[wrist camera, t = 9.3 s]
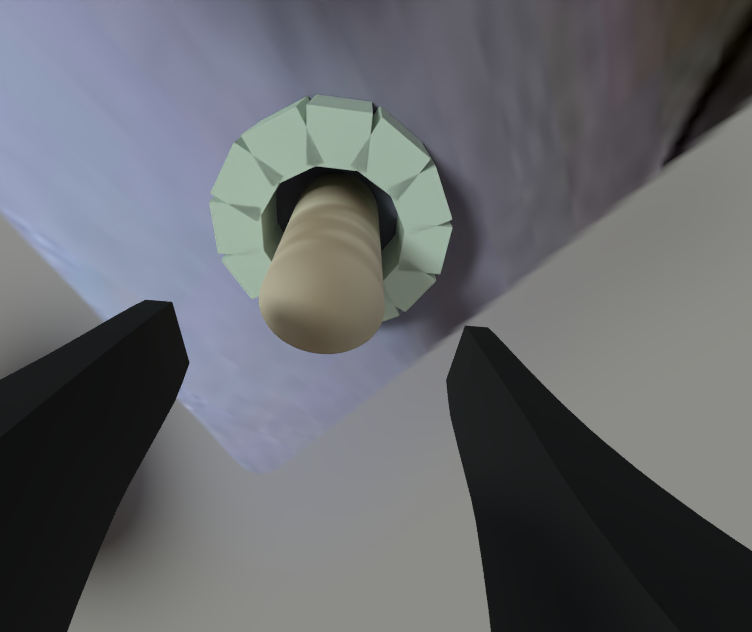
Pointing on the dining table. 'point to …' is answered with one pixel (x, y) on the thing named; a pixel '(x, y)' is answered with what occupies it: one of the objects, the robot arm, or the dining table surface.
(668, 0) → the dining table surface
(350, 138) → the pale green segmented ring
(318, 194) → the beige cylinder
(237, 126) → the dining table surface
